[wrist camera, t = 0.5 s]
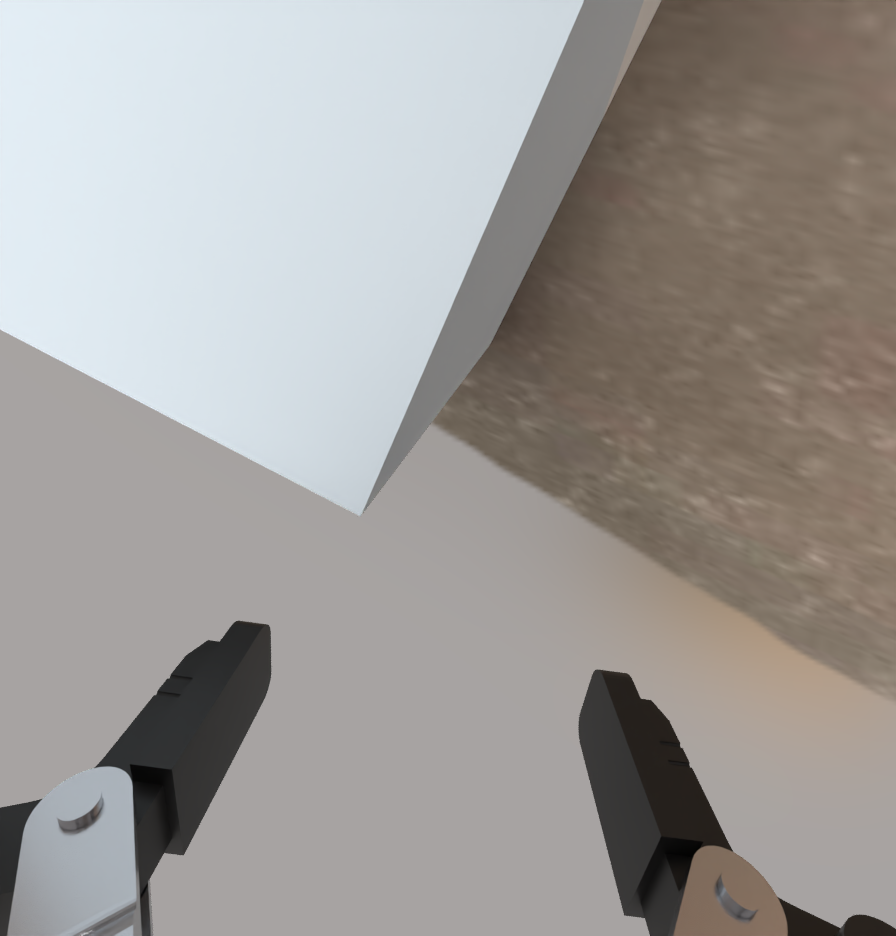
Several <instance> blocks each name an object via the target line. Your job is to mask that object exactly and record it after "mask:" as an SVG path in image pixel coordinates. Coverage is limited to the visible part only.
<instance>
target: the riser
mask: <svg viewBox="0 0 896 936" xmlns="http://www.w3.org/2000/svg"><path fill="white" fill-rule="evenodd" d="M661 1H662V0H0V330H2V331H4V332H6V333H8V334H10V335H12V336H14V337H16V338H18V339H19V340H22V341H23V342H25V343H27V344H29V345H31V346H33V347H35V348H37V349H39V350H41V351H43V352H45V353H47V354H48V355H51V356H52V357H54V358H56V359H58V360H60V361H62V362H64V363H66V364H68V365H70V366H72V367H73V368H75V369H77V370H79V371H81V372H83V373H85V374H87V375H89V376H91V377H93V378H95V379H97V380H99V381H100V382H102V383H104V384H106V385H108V386H110V387H112V388H114V389H116V390H118V391H120V392H122V393H124V394H125V395H127V396H129V397H131V398H133V399H135V400H137V401H139V402H141V403H143V404H145V405H147V406H149V407H150V408H152V409H154V410H156V411H158V412H160V413H162V414H164V415H166V416H168V417H170V418H172V419H174V420H176V421H178V422H180V423H181V424H183V425H185V426H187V427H189V428H191V429H193V430H195V431H197V432H199V433H201V434H203V435H204V436H206V437H208V438H210V439H212V440H214V441H216V442H218V443H220V444H222V445H224V446H226V447H228V448H230V449H231V450H233V451H235V452H237V453H239V454H241V455H243V456H245V457H247V458H249V459H251V460H253V461H255V462H257V463H258V464H260V465H262V466H264V467H266V468H268V469H270V470H272V471H274V472H276V473H278V474H280V475H282V476H283V477H285V478H287V479H289V480H291V481H293V482H295V483H297V484H299V485H301V486H303V487H305V488H307V489H308V490H310V491H312V492H314V493H316V494H318V495H320V496H322V497H324V498H326V499H328V500H330V501H332V502H334V503H335V504H337V505H339V506H341V507H343V508H345V509H347V510H349V511H351V512H353V513H355V514H357V515H359V516H361V515H362V514H363V513H364V511H365V510H366V509H367V507H368V506H369V505H370V503H371V502H372V501H373V499H374V498H375V497H376V495H377V494H378V493H379V491H380V490H381V488H382V487H383V486H384V485H385V483H386V482H387V481H388V479H389V478H390V477H391V475H392V474H393V473H394V472H395V470H396V469H397V468H398V466H399V465H400V464H401V462H402V461H403V459H404V458H405V457H406V456H407V454H408V453H409V452H410V450H411V449H412V448H413V446H414V445H415V444H416V442H417V441H418V440H419V438H420V437H421V436H422V434H423V433H424V432H425V430H426V429H427V428H428V426H429V425H430V424H431V422H432V421H433V420H434V418H435V417H436V416H437V415H438V413H439V412H440V411H441V409H442V408H443V407H444V405H445V404H446V403H447V401H448V400H449V399H450V397H451V396H452V395H453V393H454V392H455V391H456V389H457V388H458V387H459V385H460V384H461V383H462V381H463V380H464V379H465V377H466V376H467V375H468V373H469V372H470V371H471V369H472V368H473V367H474V365H475V364H476V363H477V361H478V360H479V359H480V358H481V356H482V355H483V354H484V352H485V351H486V350H487V348H488V347H489V346H490V344H491V342H492V340H493V338H494V336H495V334H496V332H497V330H498V328H499V326H500V324H501V322H502V320H503V318H504V316H505V314H506V312H507V310H508V308H509V306H510V304H511V302H512V300H513V298H514V296H515V294H516V292H517V290H518V288H519V286H520V284H521V282H522V280H523V278H524V276H525V274H526V272H527V270H528V268H529V266H530V264H531V262H532V260H533V258H534V256H535V254H536V252H537V250H538V248H539V246H540V244H541V242H542V240H543V238H544V236H545V234H546V232H547V230H548V228H549V226H550V224H551V222H552V220H553V218H554V216H555V214H556V212H557V210H558V208H559V206H560V204H561V202H562V199H563V197H564V195H565V193H566V191H567V189H568V187H569V185H570V183H571V181H572V179H573V177H574V175H575V173H576V171H577V169H578V167H579V165H580V163H581V161H582V159H583V157H584V155H585V153H586V151H587V149H588V147H589V145H590V143H591V141H592V139H593V137H594V135H595V133H596V131H597V129H598V127H599V125H600V123H601V121H602V119H603V117H604V115H605V113H606V111H607V109H608V107H609V105H610V103H611V101H612V99H613V97H614V95H615V93H616V91H617V89H618V87H619V85H620V83H621V81H622V79H623V77H624V75H625V73H626V71H627V69H628V67H629V65H630V63H631V61H632V59H633V57H634V55H635V53H636V51H637V49H638V47H639V45H640V43H641V41H642V39H643V37H644V35H645V33H646V31H647V29H648V27H649V25H650V23H651V21H652V19H653V17H654V15H655V13H656V11H657V9H658V7H659V5H660V3H661Z"/></svg>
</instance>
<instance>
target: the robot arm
mask: <svg viewBox="0 0 896 936" xmlns="http://www.w3.org/2000/svg"><path fill="white" fill-rule="evenodd" d="M270 635H271V632H270V627H269V625H266V624H259V623H252V622H244V621H236V622H235V623H234V624H233V625H232V626H231V627H230V628H229V630H228V631H227V633H226V634H225V635H224V637H223V638H222V639H221V641H220V642H217V641H210V640H208V641H206V642H205V643H203V644H202V645H201V646H199V647H198V648H196V649H195V650H193V651H192V652H190V653H189V654H188V655H186V656H185V658H184V659H183V660H182V661H181V662H180V664H179V665H178V666H177V667H176V669H175V670H174V671H173V673H172V674H171V676H170V678H169V679H167V680H166V681H165V682H164V684H163V685H162V686H161V687H160V689H159V690H158V692H157V695H154V696H153V697H152V699H151V700H150V701H149V702H148V704H147V705H146V706H145V707H144V708H143V710H142V711H141V712H140V714H139V715H138V716H137V718H135V720H134V721H133V722H132V723H131V725H130V726H129V727H128V729H127V730H126V731H125V732H124V733H123V735H122V736H121V737H120V738H119V740H118V741H117V742H116V743H115V745H114V746H113V747H112V748H111V750H110V751H109V752H108V753H107V754H106V756H105V757H104V758H103V759H102V761H101V762H100V763H99V764H98V765H97V766H96V767H95V768H93V769H90V770H87V771H84V772H81V773H79V774H77V775H74V776H73V777H71V778H69V779H67V780H65V781H64V782H62V783H61V784H60V785H58V786H57V787H55V788H54V789H53V790H52V791H50V792H49V793H48V794H47V795H46V796H45V797H44V798H43V799H40V800H37V801H32V802H28V803H23V804H17V805H12V806H7V807H2V808H0V936H153V923H152V906H151V890H150V877H151V875H152V874H153V872H154V870H155V868H156V866H157V865H158V863H159V861H160V859H161V857H162V856H163V854H164V853H169V854H177V855H184V854H185V852H186V850H187V848H188V846H189V844H190V842H191V840H192V838H193V836H194V834H195V832H196V830H197V828H198V827H199V825H200V823H201V820H202V819H203V817H204V815H205V813H206V811H207V809H208V807H209V805H210V803H211V801H212V799H213V798H214V796H215V793H216V792H217V790H218V788H219V786H220V784H221V782H222V780H223V778H224V776H225V774H226V772H227V770H228V768H229V766H230V765H231V763H232V760H233V759H234V757H235V755H236V753H237V751H238V749H239V747H240V745H241V743H242V741H243V739H244V737H245V736H246V734H247V732H248V730H249V728H250V726H251V724H252V722H253V720H254V718H255V716H256V714H257V712H258V710H259V708H260V706H261V704H262V703H263V700H264V699H265V696H266V693H267V691H268V687H269V683H270V678H271V636H270ZM579 739H580V745H581V748H582V752H583V756H584V760H585V764H586V768H587V771H588V776H589V780H590V783H591V787H592V791H593V795H594V799H595V803H596V807H597V811H598V814H599V819H600V822H601V826H602V830H603V834H604V838H605V842H606V846H607V850H608V854H609V857H610V861H611V865H612V869H613V873H614V877H615V881H616V885H617V888H618V893H619V896H620V900H621V904H622V908H623V912H624V915H626V916H633V917H641V918H645V920H646V923H647V926H648V930H649V934H650V936H896V929H895V928H893V927H892V926H890V925H888V924H887V923H885V922H883V921H881V920H879V919H876V918H874V917H870V916H867V915H854V916H852V917H850V918H848V920H847V921H846V922H845V924H844V925H843V926H842V927H841V928H839V927H837V926H834V925H833V924H830V923H828V922H826V921H824V920H822V919H820V918H818V917H816V916H814V915H812V914H810V913H808V912H805V911H803V910H801V909H799V908H797V907H795V906H793V905H791V904H789V903H787V902H785V901H783V900H782V899H780V898H778V897H777V896H776V894H775V892H774V891H773V889H772V888H771V886H770V885H769V884H768V882H767V881H766V880H765V878H764V877H763V876H762V875H761V874H760V873H759V872H758V871H757V870H756V869H755V868H754V867H753V866H752V865H751V864H750V863H748V862H747V861H746V860H744V859H743V858H742V857H740V856H739V855H737V854H736V853H734V852H733V850H732V849H731V847H730V845H729V843H728V841H727V839H726V837H725V835H724V833H723V831H722V829H721V827H720V825H719V823H718V820H717V818H716V816H715V814H714V812H713V810H712V808H711V806H710V804H709V802H708V800H707V798H706V796H705V794H704V792H703V790H702V787H701V785H700V784H699V781H698V779H697V777H696V775H695V773H694V771H693V769H692V768H690V766H689V761H688V759H687V757H686V754H685V752H684V750H683V749H682V748H681V747H680V742H679V740H678V738H677V736H676V734H675V732H674V730H673V728H672V726H671V724H670V721H669V720H668V719H667V718H666V717H665V715H664V714H663V713H662V712H661V711H660V710H659V709H658V708H657V706H656V705H655V704H654V703H653V702H652V701H651V700H645V699H641V698H640V696H639V694H638V691H637V689H636V687H635V685H634V682H633V680H632V678H631V677H630V675H628V674H627V673H620V672H612V671H604V670H595V671H594V673H593V675H592V678H591V681H590V684H589V687H588V690H587V694H586V697H585V700H584V703H583V706H582V709H581V713H580V717H579Z"/></svg>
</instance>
